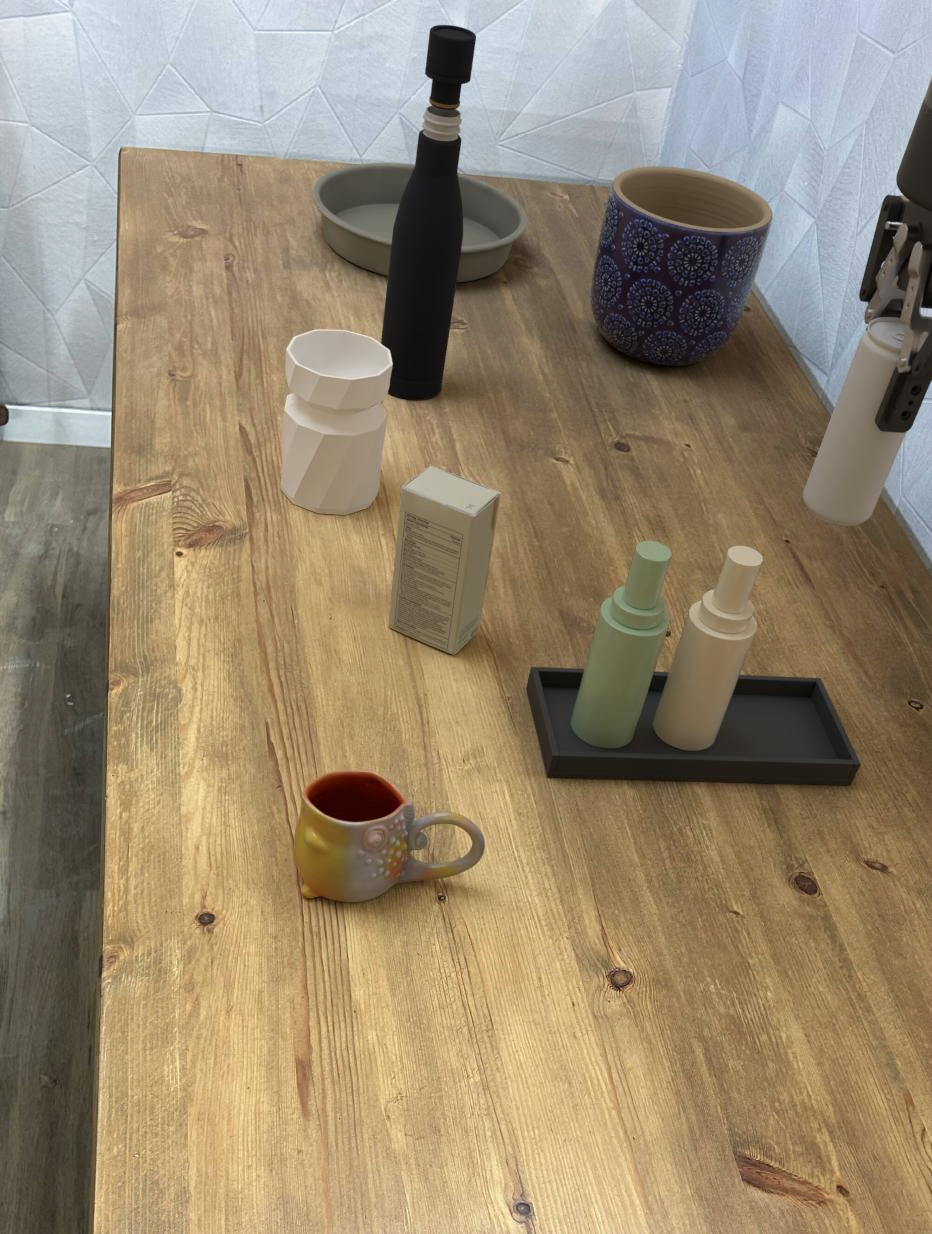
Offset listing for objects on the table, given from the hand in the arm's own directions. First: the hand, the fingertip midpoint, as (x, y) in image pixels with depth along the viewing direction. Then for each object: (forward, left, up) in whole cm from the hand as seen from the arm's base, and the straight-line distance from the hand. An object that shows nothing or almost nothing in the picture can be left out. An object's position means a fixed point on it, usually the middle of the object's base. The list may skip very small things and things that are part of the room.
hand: (877, 406), depth 85 cm
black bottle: (+22, -49, -25) cm, 60 cm away
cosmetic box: (+24, -9, -25) cm, 36 cm away
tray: (+6, +3, -25) cm, 26 cm away
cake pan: (+18, -83, -25) cm, 89 cm away
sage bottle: (+13, +3, -24) cm, 28 cm away
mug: (+30, +18, -25) cm, 43 cm away
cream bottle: (+7, +3, -24) cm, 25 cm away
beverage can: (0, 0, -8) cm, 8 cm away
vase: (+31, -29, -25) cm, 50 cm away
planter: (-6, -62, -25) cm, 67 cm away
